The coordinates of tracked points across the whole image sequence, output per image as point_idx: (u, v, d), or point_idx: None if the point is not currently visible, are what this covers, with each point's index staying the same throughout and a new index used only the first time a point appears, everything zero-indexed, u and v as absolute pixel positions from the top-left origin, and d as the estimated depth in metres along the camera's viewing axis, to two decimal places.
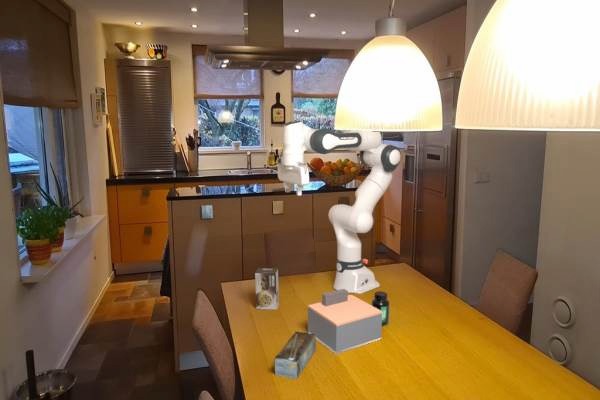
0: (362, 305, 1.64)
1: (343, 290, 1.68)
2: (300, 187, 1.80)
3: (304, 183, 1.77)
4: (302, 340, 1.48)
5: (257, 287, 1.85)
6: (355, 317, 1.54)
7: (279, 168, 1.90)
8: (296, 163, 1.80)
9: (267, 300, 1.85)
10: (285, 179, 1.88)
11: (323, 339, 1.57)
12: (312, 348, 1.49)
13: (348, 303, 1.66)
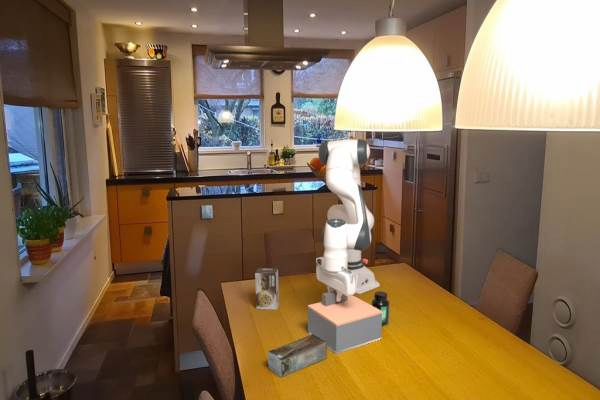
0: (362, 305, 1.64)
1: None
2: (340, 293, 1.62)
3: (350, 293, 1.57)
4: (308, 343, 1.45)
5: (257, 287, 1.85)
6: (355, 317, 1.54)
7: (318, 268, 1.70)
8: (340, 269, 1.60)
9: (267, 300, 1.85)
10: (326, 282, 1.67)
11: (323, 339, 1.57)
12: (317, 354, 1.45)
13: (348, 303, 1.66)
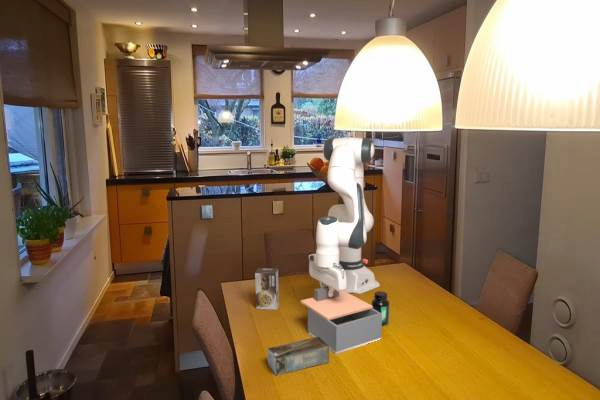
0: (354, 300, 1.69)
1: None
2: (332, 289, 1.67)
3: (341, 289, 1.61)
4: (309, 345, 1.44)
5: (257, 287, 1.85)
6: (346, 311, 1.58)
7: (311, 264, 1.74)
8: (332, 265, 1.64)
9: (267, 300, 1.85)
10: (318, 278, 1.72)
11: (323, 339, 1.57)
12: (317, 357, 1.43)
13: (340, 298, 1.70)
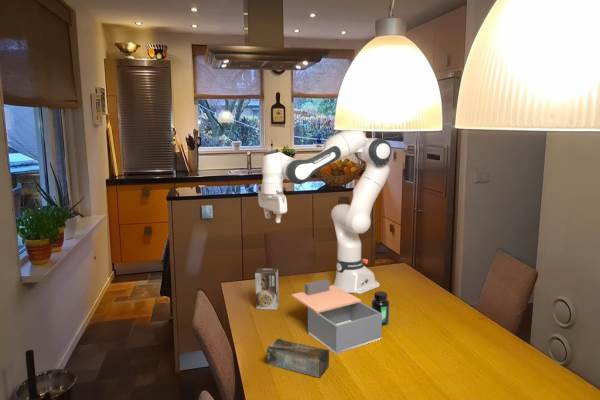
0: (343, 294, 1.74)
1: (325, 280, 1.78)
2: (279, 215, 1.87)
3: (282, 211, 1.84)
4: (305, 351, 1.40)
5: (257, 287, 1.85)
6: (335, 305, 1.64)
7: (259, 195, 1.97)
8: (275, 192, 1.87)
9: (267, 300, 1.85)
10: (265, 206, 1.94)
11: (323, 339, 1.57)
12: (306, 366, 1.38)
13: (329, 292, 1.76)
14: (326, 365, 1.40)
